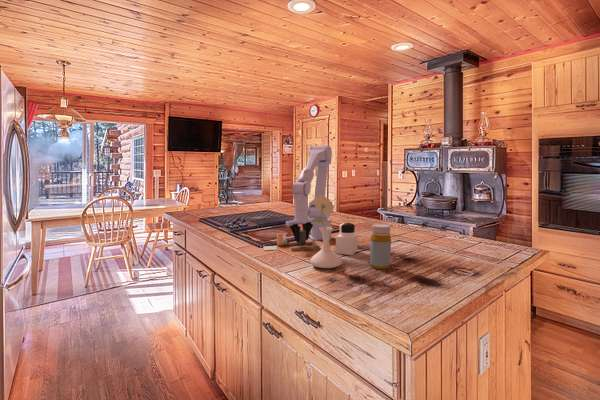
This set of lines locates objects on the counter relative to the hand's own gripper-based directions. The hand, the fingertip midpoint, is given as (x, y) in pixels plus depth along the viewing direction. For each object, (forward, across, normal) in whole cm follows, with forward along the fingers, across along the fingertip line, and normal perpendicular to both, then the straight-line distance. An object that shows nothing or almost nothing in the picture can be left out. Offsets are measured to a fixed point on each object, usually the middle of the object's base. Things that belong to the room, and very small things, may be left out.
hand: (301, 240), depth 147 cm
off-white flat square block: (+3, +12, -5) cm, 14 cm away
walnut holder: (+3, -1, 0) cm, 3 cm away
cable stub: (+2, 0, 0) cm, 2 cm away
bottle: (+3, -8, +38) cm, 39 cm away
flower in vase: (+3, +7, +26) cm, 27 cm away
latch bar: (+3, +3, -11) cm, 12 cm away
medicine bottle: (+3, -11, +17) cm, 21 cm away
